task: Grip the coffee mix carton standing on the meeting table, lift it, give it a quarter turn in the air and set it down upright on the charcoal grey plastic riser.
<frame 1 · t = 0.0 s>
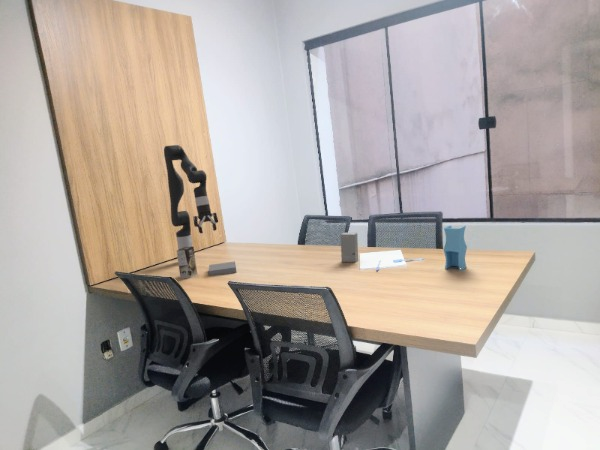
hand: (208, 231, 242), 22 cm above the table, tool pointing down, fingers open, 8 cm apart
skincare box: (350, 261, 233), on the table
vase: (456, 268, 200), on the table
riser: (222, 271, 238), on the table
coffee box: (189, 276, 235), on the table
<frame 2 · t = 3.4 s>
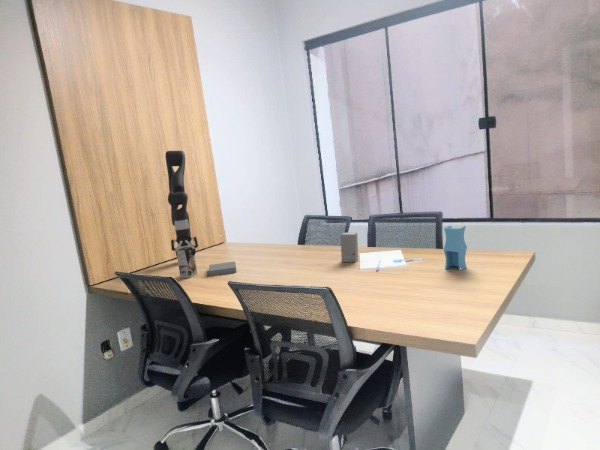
hand: (186, 256, 233), 11 cm above the table, tool pointing down, fingers open, 8 cm apart
nothing on the table moved.
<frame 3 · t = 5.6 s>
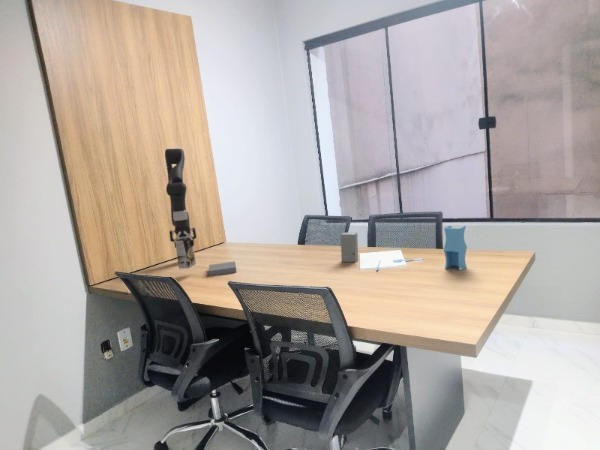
hand: (184, 247, 233), 17 cm above the table, tool pointing down, fingers closed on coffee box, 8 cm apart
coffee box: (187, 266, 235), point 5 cm above the table, touching gripper
everything else where it was.
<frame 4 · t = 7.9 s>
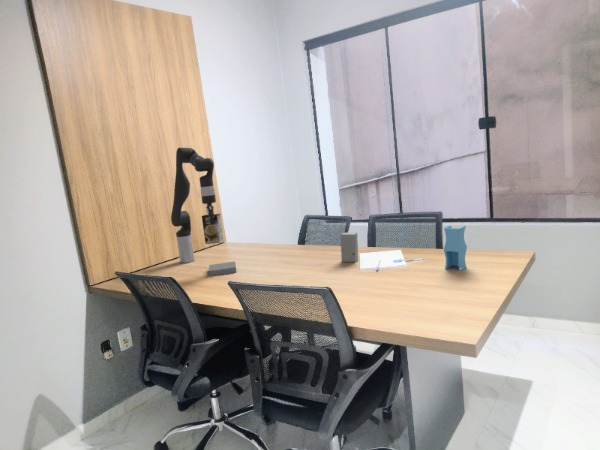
hand: (212, 223, 233), 28 cm above the table, tool pointing down, fingers closed on coffee box, 8 cm apart
coffee box: (214, 243, 235), point 17 cm above the table, touching gripper
everything else where it was.
when the fingers open (15 cm above the table, at t = 11.7 s): coffee box drops 1 cm, resting on riser.
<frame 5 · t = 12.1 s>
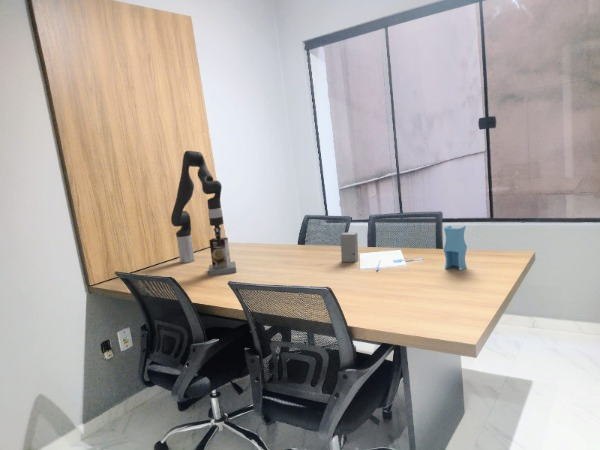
hand: (219, 244, 236), 16 cm above the table, tool pointing down, fingers open, 8 cm apart
coffee box: (222, 266, 238), point 3 cm above the table, touching riser
everything else where it was.
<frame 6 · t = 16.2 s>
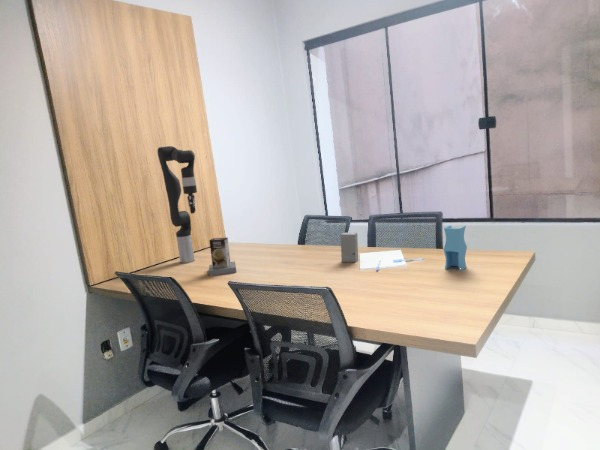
hand: (193, 212, 244), 34 cm above the table, tool pointing down, fingers open, 8 cm apart
nothing on the table moved.
at the end: coffee box inside the target area on the riser (0.3 cm from its centre), point 2.8 cm above the riser's base; coffee box tilted 0°; the gripper is holding nothing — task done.
